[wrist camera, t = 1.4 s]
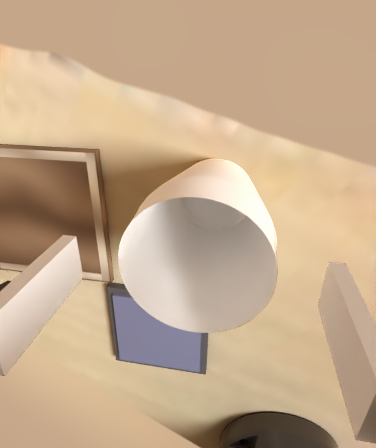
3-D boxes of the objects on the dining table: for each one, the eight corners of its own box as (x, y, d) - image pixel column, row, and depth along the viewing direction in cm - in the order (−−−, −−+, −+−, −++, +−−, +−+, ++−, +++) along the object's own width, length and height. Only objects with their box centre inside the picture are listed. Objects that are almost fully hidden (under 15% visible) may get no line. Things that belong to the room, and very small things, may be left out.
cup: (290, 199, 26) (318, 284, 16) (213, 257, 30) (194, 356, 20) (218, 119, 25) (194, 154, 14) (146, 191, 28) (84, 261, 18)
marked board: (113, 279, 34) (111, 283, 33) (-2, 265, 36) (-7, 268, 35) (99, 149, 27) (95, 151, 27) (-40, 142, 30) (-46, 143, 29)
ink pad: (206, 368, 37) (205, 377, 36) (118, 354, 39) (114, 362, 38) (210, 294, 32) (209, 302, 31) (109, 282, 34) (105, 289, 33)
